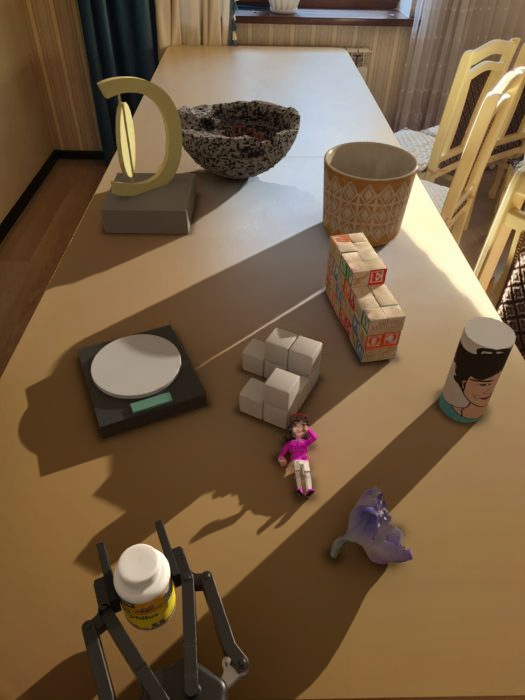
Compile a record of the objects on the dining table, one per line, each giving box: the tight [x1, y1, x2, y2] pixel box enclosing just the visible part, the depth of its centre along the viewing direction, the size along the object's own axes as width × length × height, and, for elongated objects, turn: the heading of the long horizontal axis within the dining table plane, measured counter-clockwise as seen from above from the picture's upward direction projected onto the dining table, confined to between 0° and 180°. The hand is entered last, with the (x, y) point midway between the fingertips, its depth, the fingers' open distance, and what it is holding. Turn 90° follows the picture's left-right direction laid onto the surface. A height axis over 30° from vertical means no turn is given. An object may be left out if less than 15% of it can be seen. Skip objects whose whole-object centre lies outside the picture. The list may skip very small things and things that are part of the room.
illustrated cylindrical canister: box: [438, 316, 517, 424], centre depth 79 cm, size 7×7×15 cm
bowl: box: [177, 99, 301, 180], centre depth 140 cm, size 31×31×15 cm
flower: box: [329, 486, 414, 565], centre depth 64 cm, size 9×9×10 cm
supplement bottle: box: [113, 543, 177, 632], centre depth 55 cm, size 6×6×10 cm
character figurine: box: [277, 412, 319, 498], centre depth 74 cm, size 6×5×12 cm
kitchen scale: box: [76, 324, 208, 439], centre depth 86 cm, size 16×18×3 cm
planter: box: [322, 141, 419, 248], centre depth 117 cm, size 19×19×16 cm
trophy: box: [96, 75, 197, 235], centre depth 117 cm, size 19×19×30 cm
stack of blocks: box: [325, 233, 407, 363], centre depth 94 cm, size 21×6×12 cm, turn 12°
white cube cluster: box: [238, 327, 323, 430], centre depth 83 cm, size 12×12×8 cm
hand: (131, 538), depth 58 cm, fingers closed on supplement bottle, 6 cm apart
